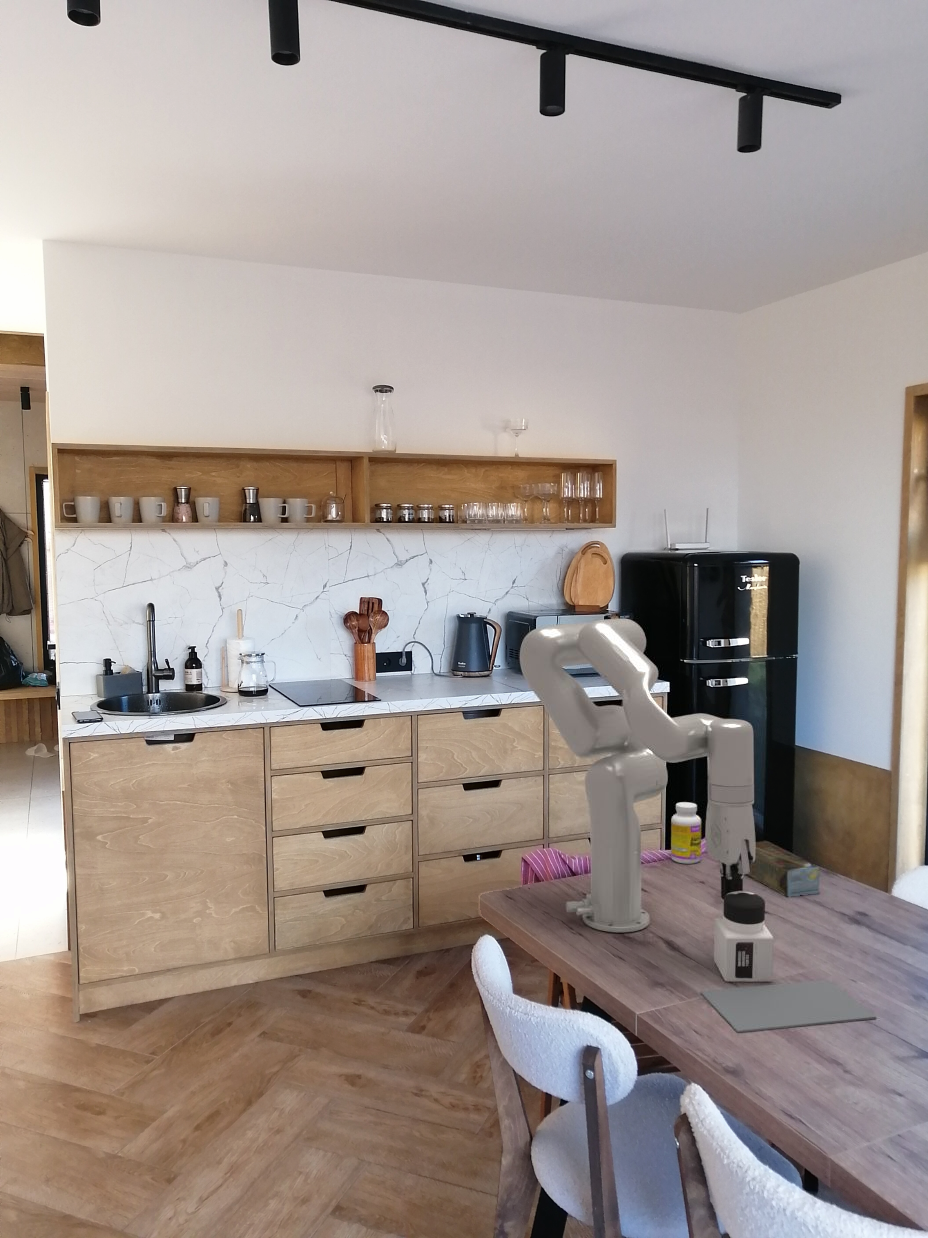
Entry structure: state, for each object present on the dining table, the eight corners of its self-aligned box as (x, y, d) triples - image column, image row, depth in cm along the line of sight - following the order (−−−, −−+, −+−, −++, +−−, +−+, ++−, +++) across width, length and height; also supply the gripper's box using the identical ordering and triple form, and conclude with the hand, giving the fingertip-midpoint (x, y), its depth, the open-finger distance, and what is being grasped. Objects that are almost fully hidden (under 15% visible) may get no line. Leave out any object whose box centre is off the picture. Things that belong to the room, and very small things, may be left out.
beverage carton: (786, 899, 194) (786, 867, 194) (734, 871, 212) (734, 841, 212) (820, 895, 196) (820, 863, 196) (766, 867, 215) (766, 838, 214)
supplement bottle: (691, 866, 215) (691, 810, 214) (665, 860, 219) (665, 805, 218) (706, 859, 220) (706, 804, 219) (680, 854, 224) (680, 799, 223)
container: (772, 983, 155) (775, 905, 154) (724, 982, 156) (726, 905, 154) (759, 961, 163) (761, 887, 162) (713, 960, 163) (715, 886, 162)
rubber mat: (737, 1033, 139) (737, 1031, 139) (700, 993, 152) (700, 991, 152) (876, 1019, 143) (876, 1017, 143) (828, 981, 155) (828, 979, 155)
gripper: (691, 785, 169) (693, 888, 170) (730, 804, 154) (731, 917, 155) (731, 782, 170) (732, 884, 171) (773, 801, 156) (774, 913, 157)
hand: (732, 899), depth 163 cm, fingers closed
